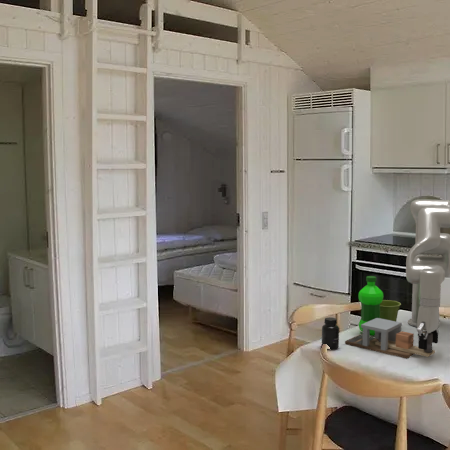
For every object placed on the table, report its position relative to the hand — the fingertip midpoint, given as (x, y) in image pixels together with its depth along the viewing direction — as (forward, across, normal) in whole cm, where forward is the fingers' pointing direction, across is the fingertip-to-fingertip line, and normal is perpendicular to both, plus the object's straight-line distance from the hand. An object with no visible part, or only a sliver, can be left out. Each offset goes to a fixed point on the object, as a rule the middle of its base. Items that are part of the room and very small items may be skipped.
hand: (428, 345), depth 226 cm
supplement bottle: (+5, +14, -34) cm, 38 cm away
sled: (+3, 0, -10) cm, 10 cm away
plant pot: (+5, -26, -30) cm, 40 cm away
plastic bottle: (+5, -13, -32) cm, 34 cm away
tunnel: (+4, 0, -20) cm, 20 cm away
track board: (+5, 0, -19) cm, 20 cm away
